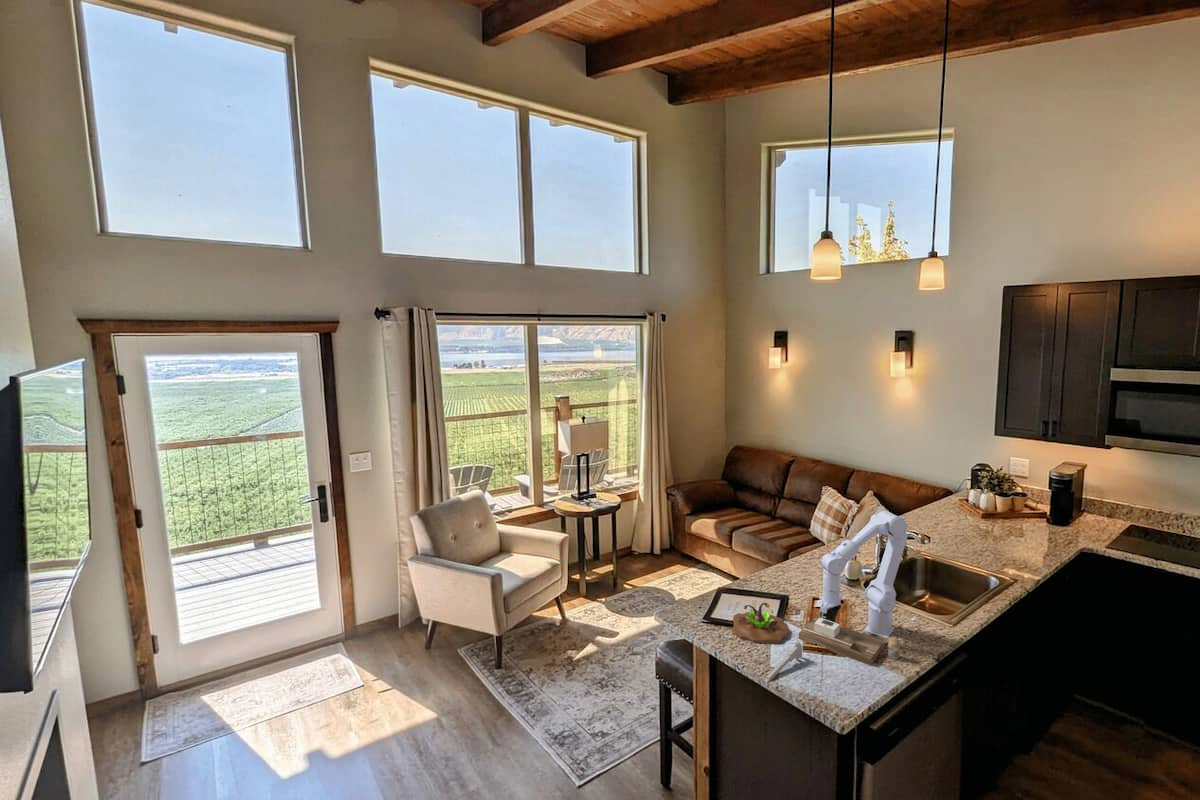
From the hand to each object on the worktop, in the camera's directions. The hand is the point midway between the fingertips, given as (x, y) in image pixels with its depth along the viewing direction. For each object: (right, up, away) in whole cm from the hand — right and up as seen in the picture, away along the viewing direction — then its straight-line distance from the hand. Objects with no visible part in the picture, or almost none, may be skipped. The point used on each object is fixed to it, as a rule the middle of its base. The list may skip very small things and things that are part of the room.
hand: (830, 624), depth 202 cm
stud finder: (-2, -2, -3) cm, 4 cm away
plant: (-24, -5, +4) cm, 25 cm away
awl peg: (+15, -5, -14) cm, 21 cm away
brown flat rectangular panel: (+1, -4, -6) cm, 7 cm away
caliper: (-24, -8, -21) cm, 32 cm away
